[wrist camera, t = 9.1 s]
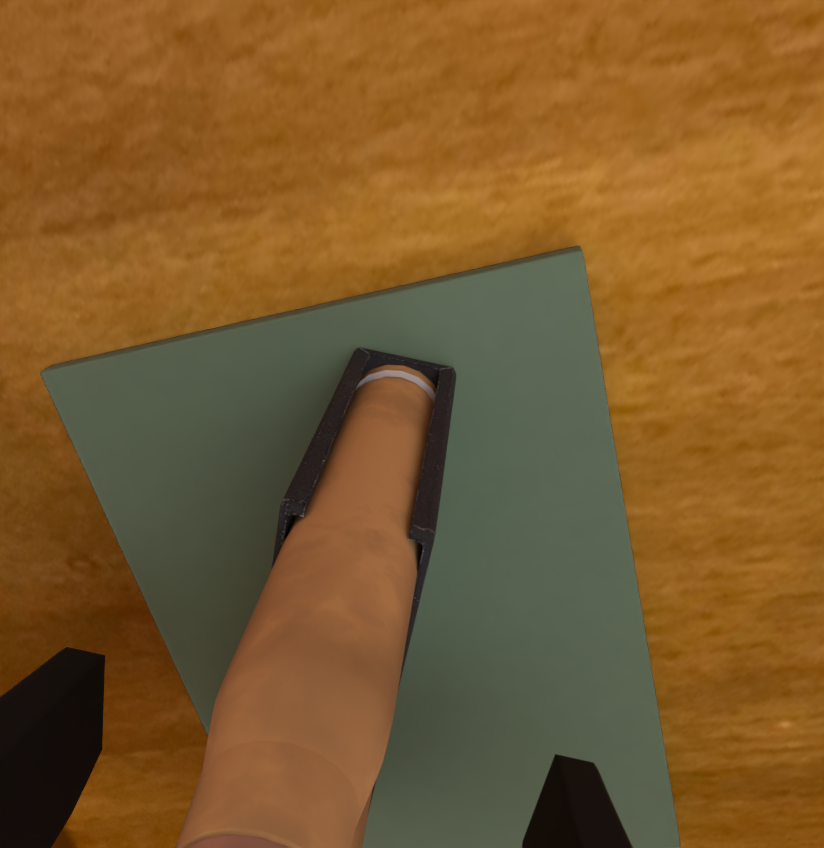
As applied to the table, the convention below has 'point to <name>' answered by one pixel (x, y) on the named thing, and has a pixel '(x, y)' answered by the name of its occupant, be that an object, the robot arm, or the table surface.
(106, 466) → the mat
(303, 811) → the stripper clip of bullets
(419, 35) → the table surface
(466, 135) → the table surface
